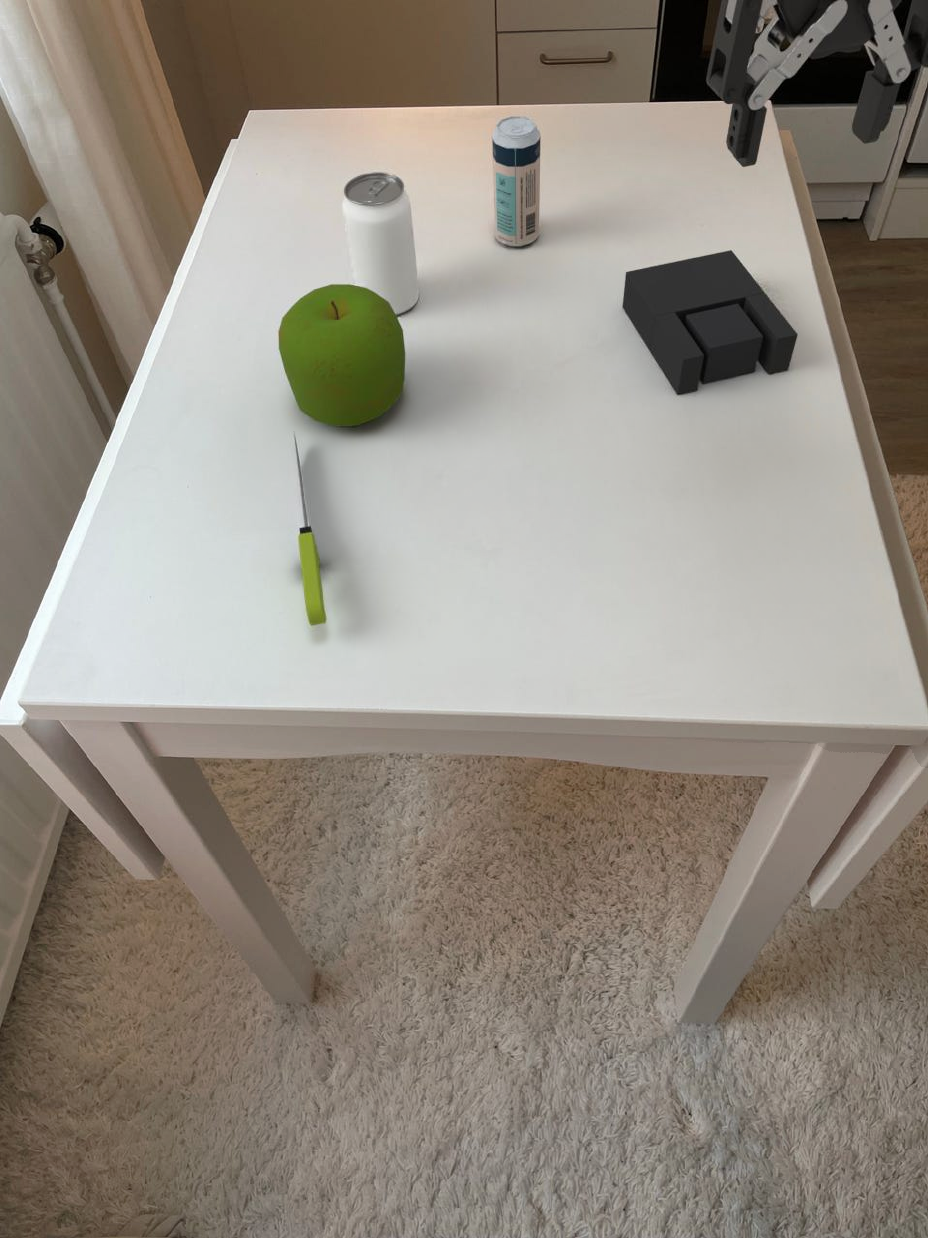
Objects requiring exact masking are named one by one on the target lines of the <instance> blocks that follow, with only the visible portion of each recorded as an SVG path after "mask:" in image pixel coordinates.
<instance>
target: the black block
mask: <svg viewBox="0 0 928 1238" xmlns="http://www.w3.org/2000/svg"><path fill="white" fill-rule="evenodd" d="M684 327H685V328H686V329H687V331H688V332H689V334H690V335H691V337H692V338H693V340H694V341H695V343H696V344H697V346H698V347H699V349H700V350H701V352H702V353H703V355H704V358H703V363H702V368H701V374H700V379H699V381H701V383H702V384H703V385H705V384H709V383H713V382H717V381H722V380H726V379H730V378H734V377H737V376H738V377H740V376H743V375H747V374H752V373H755V372H756V368H757V364H758V356H759V352H760V348H761V344H762V340H763V336H762V334H761V333H760V332H759V330H758V329H757V328H756V326H755V325H754V324H753V323H752V321H751V320H750V319H749V317H748V316H747V315H746V313H745V312H744V311H743V310H742V308H741V307H740V306H739V304H734V305H730V306H725V307H721V308H716V309H712V310H707V311H703V312H698V313H694V314H689V315H686V320H685V326H684Z"/></svg>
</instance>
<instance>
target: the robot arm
mask: <svg viewBox="0 0 928 1238" xmlns="http://www.w3.org/2000/svg"><path fill="white" fill-rule="evenodd" d="M901 2H902V0H721V1H720V7H719V13H718V17H717V22H716V27H715V32H714V33H715V34H714V37H713V42H712V47H711V53H710V58H709V62H708V68H707V74H706V78H705V80H706V81H705V82H706V84H707V86H708V87H709V88H710V89H711V90H712V91H713V92H714V93H715V94H716V95H717V96H718V97H719V98H720V99H721V101H723V103H724V104H726V105H731V112H730V115H729V122H728V129H727V134H726V140H725V143H726V148H727V150H728V151H729V152H730V153H731V154H732V156H733V158H734V159H735V160H736V161H737V163H738V164H739V165H740V166H741V167H742V168H747V167H751V166H752V167H753V166H755V165H756V164H757V162H758V161H757V160H758V156H759V151H760V146H761V141H762V136H763V132H764V126H765V123H766V122H765V121H766V117H767V112H768V108H767V106H765V105H766V103H767V102H768V101H769V100H770V98H771V97H772V96H773V95H774V93H775V92H776V90H778V88H779V87H780V85H781V84H782V83H783V82H784V81H785V80H786V79H791V78H792V77H794V76H795V75H796V74H797V73H798V71H799V70H800V69H801V68H802V66H803V65H804V64H805V62H806V61H807V60H808V58H810V59H811V60H817V59H823V58H826V57H827V56H830V55H832V54H834V53H836V52H840V53H841V52H842V53H847V54H848V53H849V54H850V53H855V52H861V49H862V46H864V47H865V50H866V53H867V54H868V56H869V59H870V62H871V64H872V65H873V70H869V71H865V76H864V79H863V82H862V83H863V84H862V87H861V90H860V94H859V97H858V101H857V104H856V108H855V112H854V115H853V120H852V123H851V131H852V134H853V135H854V136H855V137H856V138H858V140H860V141H861V142H862V143H863V144H865V145H866V144H871V143H876V142H877V141H878V140H879V138H880V137H881V132H884V131H885V130H886V128H887V127H888V125H889V123H890V120H891V116H892V113H893V110H894V107H895V104H896V100H897V97H898V93H899V91H900V87H901V84H902V82H904V81H906V80H907V78H908V77H909V75H910V74H911V73H912V72H913V71H914V70H916V69H918V68H920V67H924V68H926V69H928V0H911V4H910V7H909V11H908V15H907V18H906V19H907V20H906V24H905V26H904V32H903V34H902V31H901V29H900V27H899V24H898V21H897V19H896V16H895V13H894V11H895V10H896V8H898V6H899V5H900V3H901ZM772 7H773V10H774V11H775V14H774V16H773V17H772V19H770V21H769V23H768V24H767V25H766V27H765V28H764V29H763V31H762V32H761V33H760V35H759V36H758V38H757V39H756V41H755V37H756V32H757V28H761V27H763V26H764V24H765V23H766V19H765V17H766V15H767V13H768V11H769V10H770V9H771V8H772ZM786 37H787V40H788V42H789V43H790V45H789V46H788V47H787V48H786V49H785V50H784V51H781V50H780V47H781V44H782V42H783V41H784V39H786ZM754 41H755V42H754ZM753 45H754V46H753ZM752 49H753V52H752Z"/></svg>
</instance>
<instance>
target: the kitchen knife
mask: <svg viewBox="0 0 928 1238" xmlns="http://www.w3.org/2000/svg"><path fill="white" fill-rule="evenodd" d="M293 438H294V447H295V455H296V464H297V472H298V482H299V491H300V498H301V499H300V500H301V506H302V514H303V523H304V526H303V527H299V534H298V537H297V539H298V540H297V541H298V548H299V558H300V569H301V575H302V586H303V594H304V595H303V597H304V605H305V611H306V616H307V620H308V624H309V625H310V626H317V625H322V624H326V622H327V615H326V610H325V602H324V592H323V582H322V575H321V569H320V566H321V560H320V555H319V551H318V546H317V543H316V539H315V535H314V533H313V529H312V527H311V525H309V522H308V521H309V520H308V514H307V506H306V499H305V491H304V484H303V483H304V482H303V476H302V468H301V462H300V457H299V456H300V455H299V450H298V443H297V438H296V433H295V432H293Z"/></svg>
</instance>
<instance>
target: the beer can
mask: <svg viewBox="0 0 928 1238" xmlns="http://www.w3.org/2000/svg"><path fill="white" fill-rule="evenodd" d="M491 137H492V139H491V140H492V141H491V142H492V145H491V146H492V178H493V180H492V181H493V182H492V183H493V216H494V219H493V221H494V236H495V239H496V240H497V241H498V242H500V243H502V244H504V245H506V246H509V247H514V248H515V247H523V246H528V245H529V244H531V243H533V242H534V241H535V240H537V238H538V237H539V234H540V199H541V198H540V197H541V196H540V195H541V132H540V130H539V129H538V126H537V124H536V123H535V120H534V119H532V118H529V117H527V116H525V115H524V116H523V115H520V116H518V115H517V116H515V115H514V116H513V115H511V116H508V117H506V118H503V119H501V120H499V122H498V123H497V124H496V126H495V129H494V131H493V132H492V136H491Z"/></svg>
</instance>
